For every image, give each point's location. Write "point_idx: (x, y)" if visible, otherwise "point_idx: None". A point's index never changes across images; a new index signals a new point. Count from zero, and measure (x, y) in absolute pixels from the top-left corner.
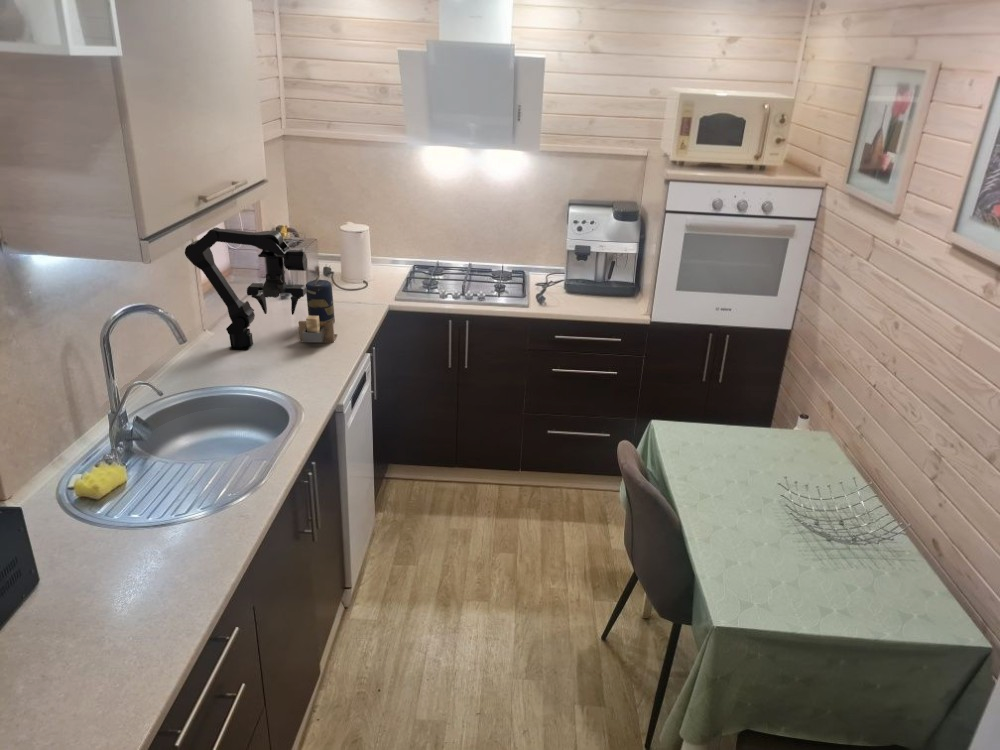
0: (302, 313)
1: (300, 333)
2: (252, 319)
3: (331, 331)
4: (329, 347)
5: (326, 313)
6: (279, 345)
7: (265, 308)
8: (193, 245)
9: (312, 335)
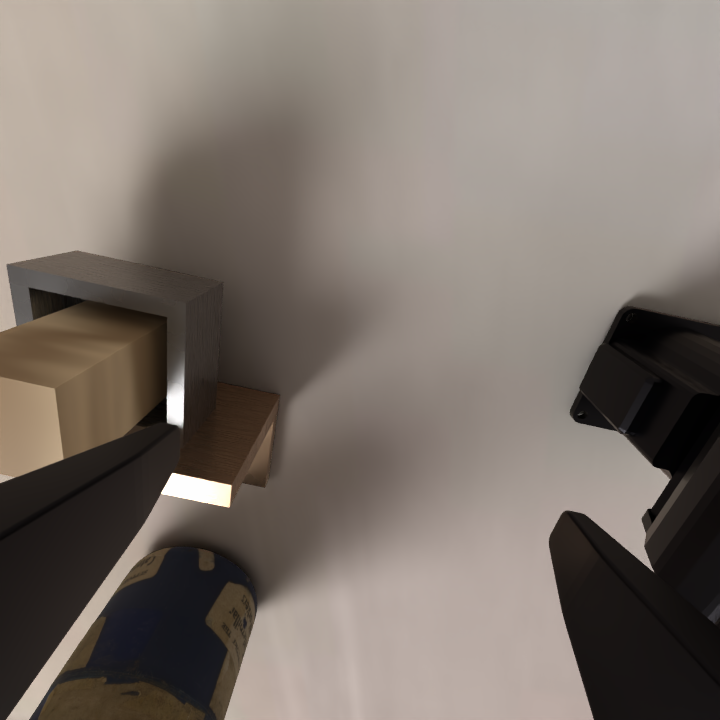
0: (315, 707)
1: (257, 424)
2: (688, 509)
3: None
4: None
5: (103, 626)
6: (405, 359)
7: (602, 596)
8: None
9: (106, 276)
